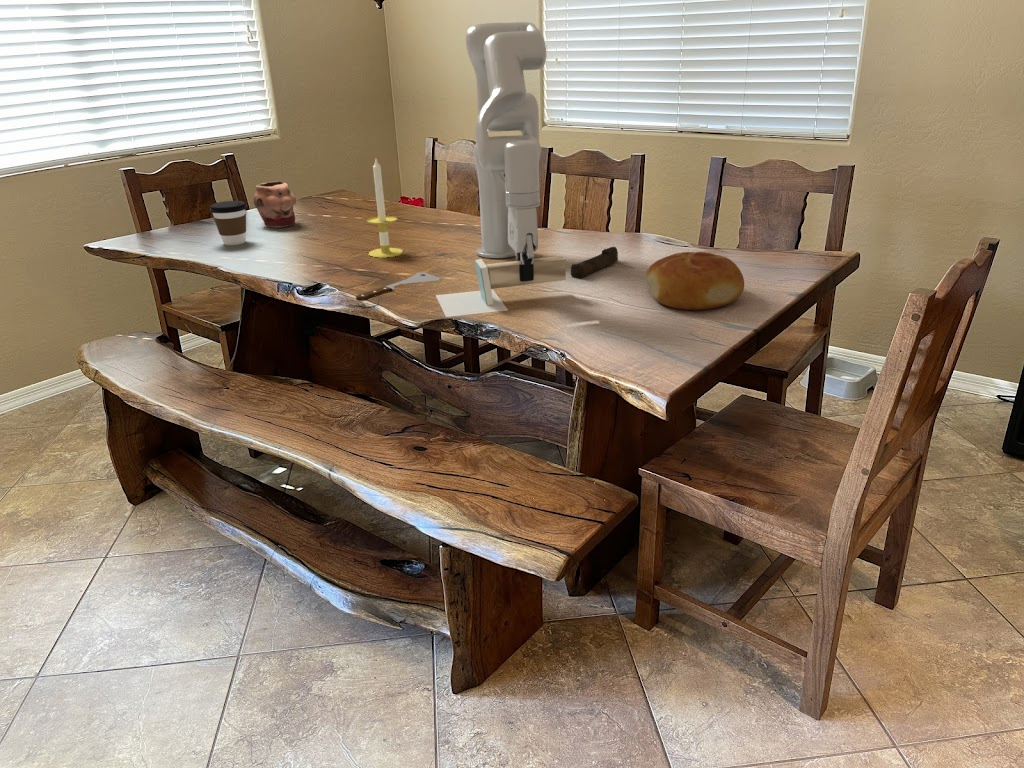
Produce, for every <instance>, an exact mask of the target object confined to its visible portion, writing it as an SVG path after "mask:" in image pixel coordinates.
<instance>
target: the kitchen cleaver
mask: <svg viewBox="0 0 1024 768" xmlns="http://www.w3.org/2000/svg"><path fill="white" fill-rule="evenodd" d="M440 278H441V277H439V276H435V275H433V274H429V273H427V272H424V271H423V272H417V273H415V274H413V275H411V276H410V277H407V278H406V279H403V280H401V281H398V282H394V283H391V284H388V285H386V286H382V287H379V288H376V289H373V290H370V291H366V292H363V293H361V294H357V295H356V296H355V300H356V301H365V300H368V299H369V297H370V298H372V296H374V297H376V296H375V295H377V296H379V295H378V294H380V295H382V294H385V293H384V292H386V293H389V292H394V291H395V292H396V290H395V287H396V286H398V285H402V284H403V285H405V284H413V283H426V282H434V281H435V282H436V281H440V280H441V279H440ZM439 279H440V280H439ZM388 291H389V292H388ZM381 293H382V294H381ZM367 298H368V299H367Z"/></svg>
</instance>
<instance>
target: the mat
mask: <svg viewBox="0 0 1024 768" xmlns="http://www.w3.org/2000/svg"><path fill="white" fill-rule="evenodd" d="M491 292H492V297H493V303H494V304H493V305H489V306H488V305H486V303H485V302H484V300H483V299H482V297H481V294H480V290H473V291H465V292H454V293H447V294H446V293H444V294H443V293H442V294H436V295H435V297H436V299H437V302H438V303H439V305H440V307H441V310H442V311H443V313H444V316H445V318H451V317H452V318H453V317H459V316H460V317H461V316H462V317H463V316H470V315H477V314H478V315H479V314H487V313H496V312H507V311H509V309H508V308H507V307H506V305H505V304H504V302H503V301H502V299H501V298H500V297H499V296H498V295H497V292H496V291H495V290H494V289H491Z"/></svg>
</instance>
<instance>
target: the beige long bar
mask: <svg viewBox="0 0 1024 768" xmlns="http://www.w3.org/2000/svg"><path fill="white" fill-rule="evenodd" d="M519 264H521V261H516V260H514V261H506V262H505V261H504V262H497V263H496V262H495V263H487V264H486V266H487V268H488V274H489V280H490V286H491V289H493V290H494V289H502V288H510V287H519V286H526V285H528V286H530V285H537V284H544V283H551V282H552V283H553V282H561V281H566V280H567V271H566V270H567V267H566V264H567V263H566V258H565V257H564V256H562V255H560V256H550V257H540V258H533V267H534V280H533V281H524V282H521V281H520V271H519Z"/></svg>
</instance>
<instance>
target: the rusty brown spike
mask: <svg viewBox="0 0 1024 768" xmlns="http://www.w3.org/2000/svg"><path fill="white" fill-rule="evenodd" d="M618 254H619V252H618V248H617V247H616V246H610V247H608V248H604V249H603V250H601V253H600V254H599V255H598V254H597V255H596V256H593V257H591V258H589V259H586V260H583V261H580V262H578V263H573V264H571V266H570V275H571V277H572V278H575V279H579V280H581V279H583V278H586V276H587V275H589V274H590V273H593V272H596V271H598V270H600V269H602V268H604V267H607V268H610V267H613V266H614V265H616V263H618V260H619V258H618V257H619V255H618Z"/></svg>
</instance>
